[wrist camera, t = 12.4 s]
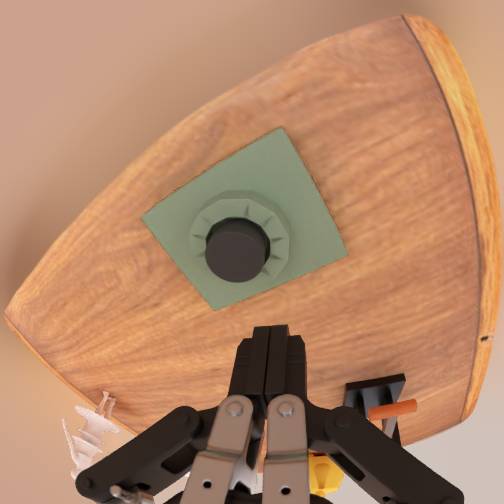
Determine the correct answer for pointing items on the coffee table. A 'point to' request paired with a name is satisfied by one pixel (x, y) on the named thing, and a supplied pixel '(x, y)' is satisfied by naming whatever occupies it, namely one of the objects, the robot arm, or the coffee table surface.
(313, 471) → the teapot
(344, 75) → the coffee table surface
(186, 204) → the box
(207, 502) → the robot arm
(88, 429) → the figurine
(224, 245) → the button
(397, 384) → the switch bracket
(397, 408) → the switch
